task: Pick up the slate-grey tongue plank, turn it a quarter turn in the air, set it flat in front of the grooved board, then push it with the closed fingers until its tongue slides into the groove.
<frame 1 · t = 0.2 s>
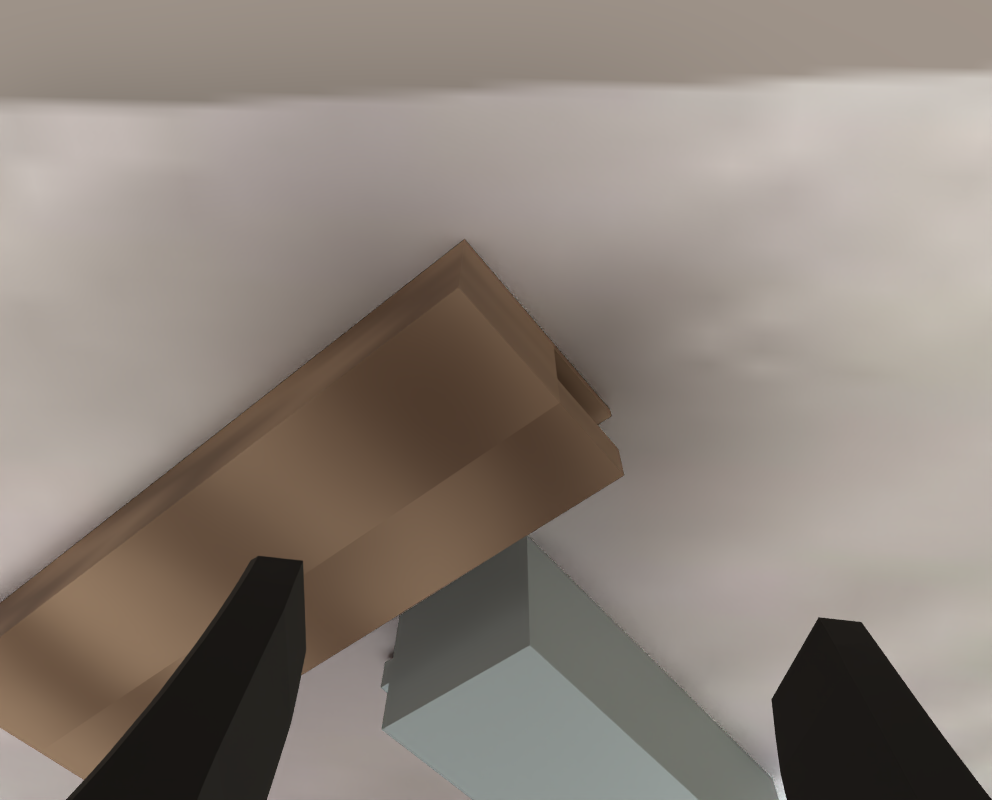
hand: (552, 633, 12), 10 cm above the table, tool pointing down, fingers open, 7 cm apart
tongue plank: (597, 696, 28), on the table
grooved board: (277, 517, 24), on the table
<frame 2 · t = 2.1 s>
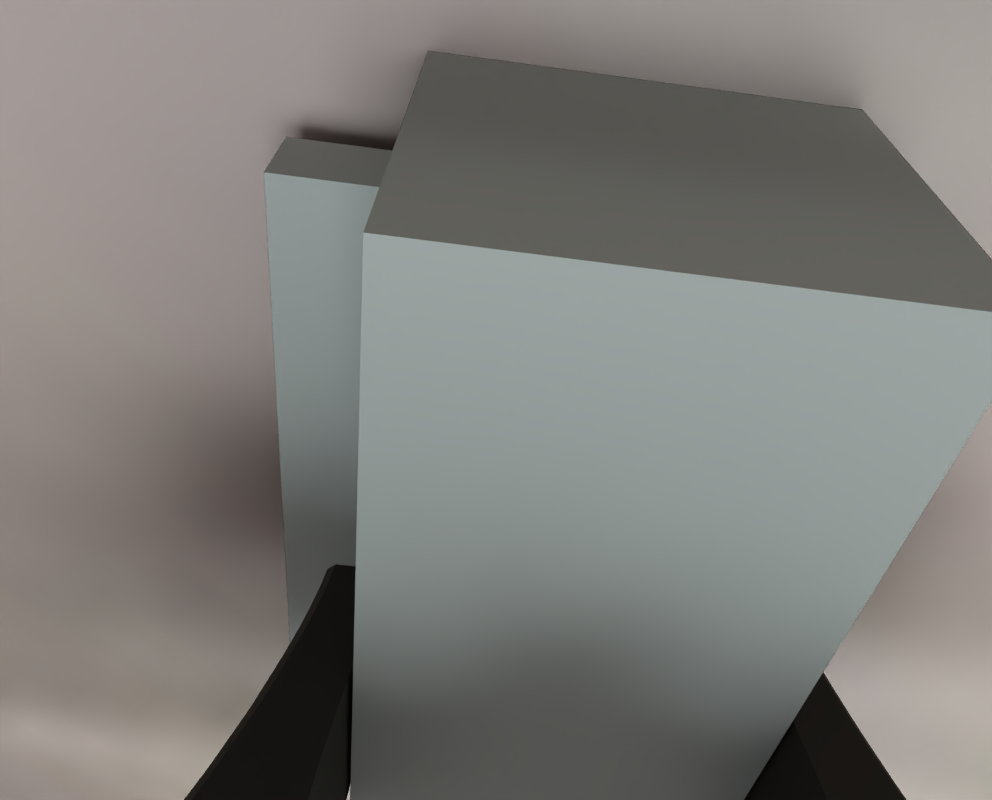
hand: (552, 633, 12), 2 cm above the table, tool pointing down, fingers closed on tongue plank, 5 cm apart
tongue plank: (550, 506, 14), on the table, touching gripper
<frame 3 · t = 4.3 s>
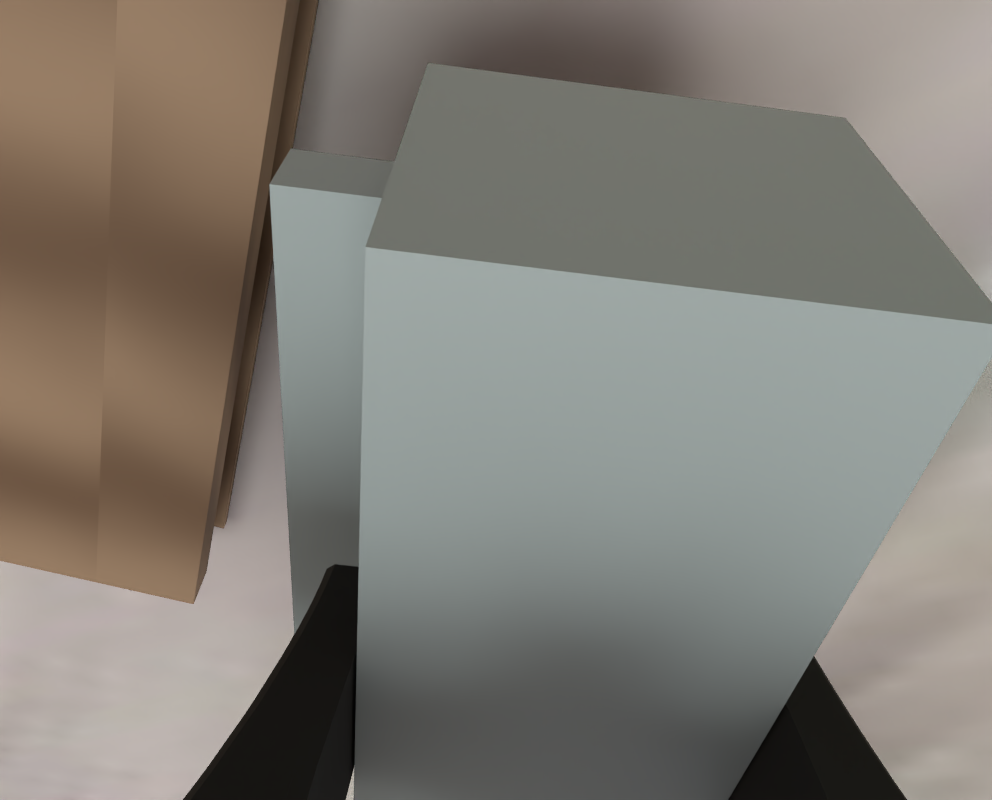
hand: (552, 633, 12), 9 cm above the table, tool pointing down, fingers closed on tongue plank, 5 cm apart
tongue plank: (547, 504, 14), point 7 cm above the table, touching gripper
grooved board: (139, 203, 18), on the table
when the fingers open (3 cm above the table, at t = 6.1 s): tongue plank stays where it is, on the table.
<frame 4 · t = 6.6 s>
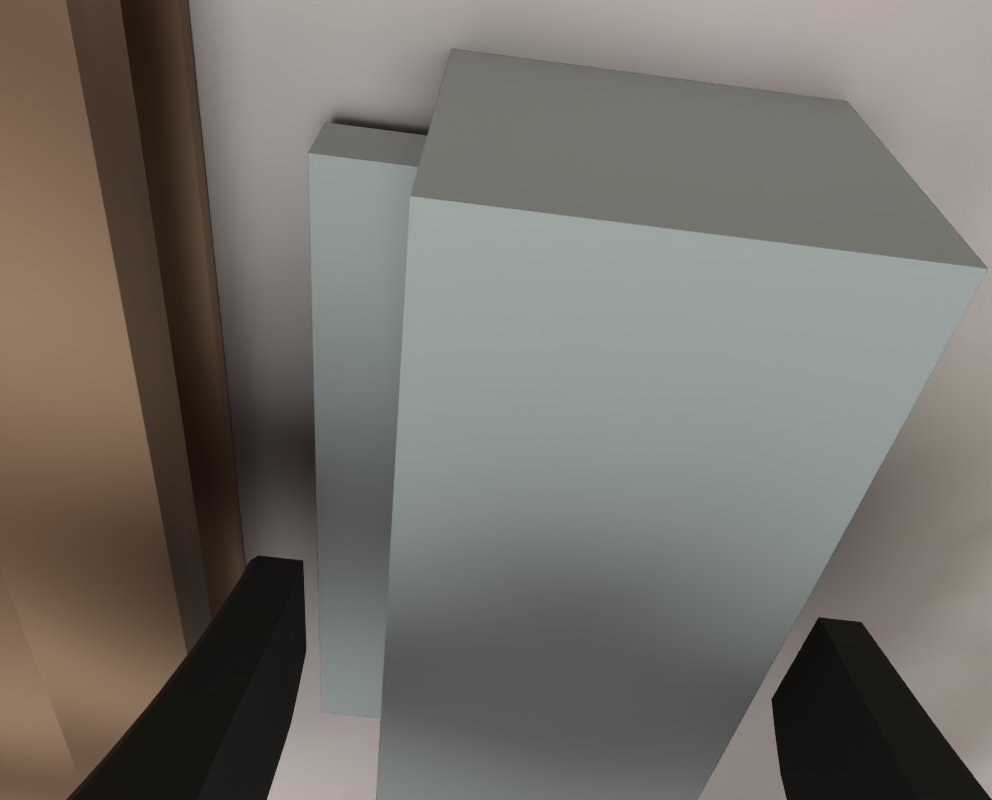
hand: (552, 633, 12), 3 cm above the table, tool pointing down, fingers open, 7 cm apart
tongue plank: (559, 468, 15), on the table
grooved board: (59, 433, 15), on the table
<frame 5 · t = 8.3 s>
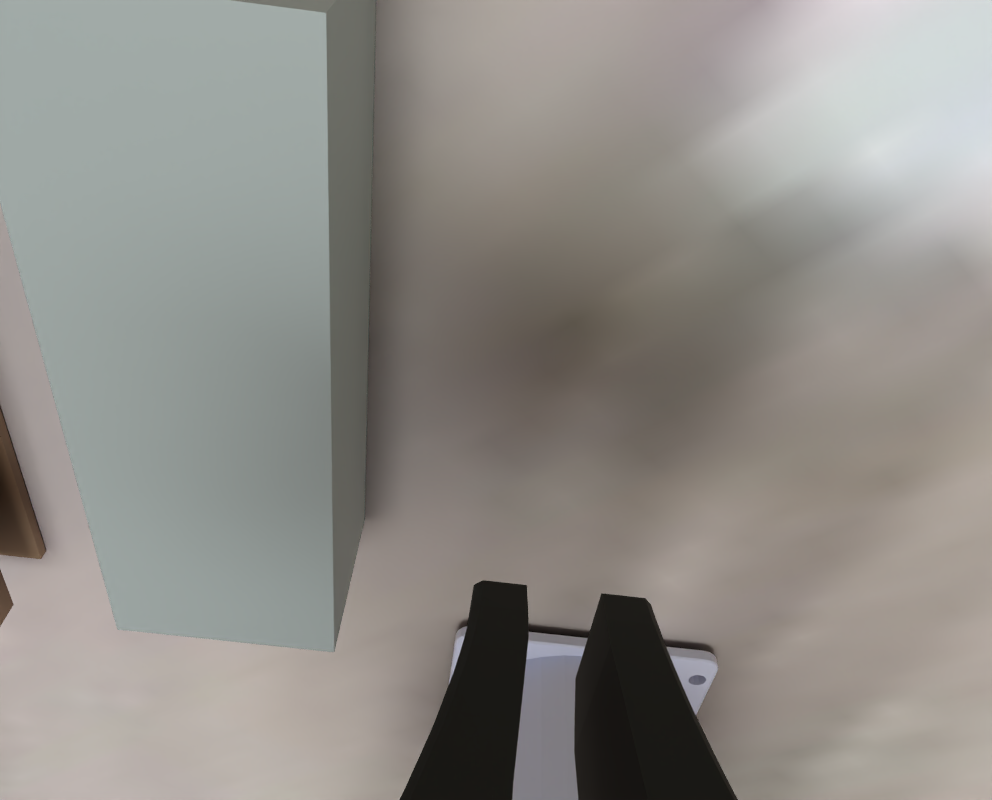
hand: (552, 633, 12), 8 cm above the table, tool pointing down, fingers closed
tongue plank: (259, 280, 19), on the table
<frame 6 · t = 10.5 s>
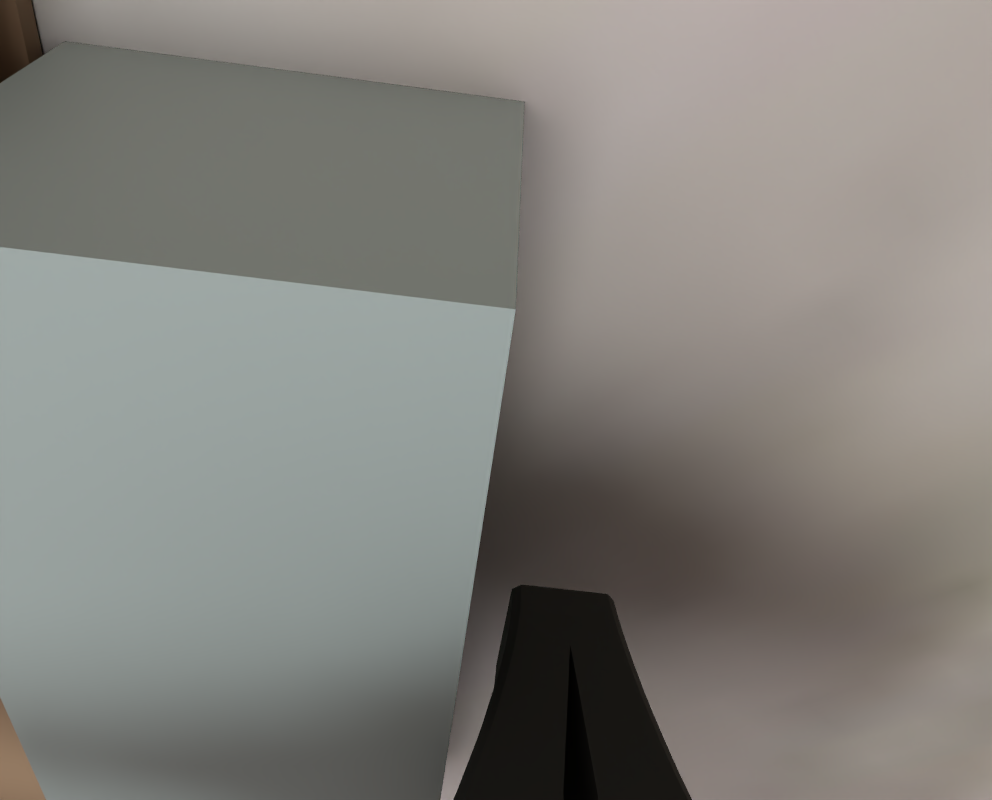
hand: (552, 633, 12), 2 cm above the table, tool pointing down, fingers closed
tongue plank: (313, 505, 14), on the table, touching gripper
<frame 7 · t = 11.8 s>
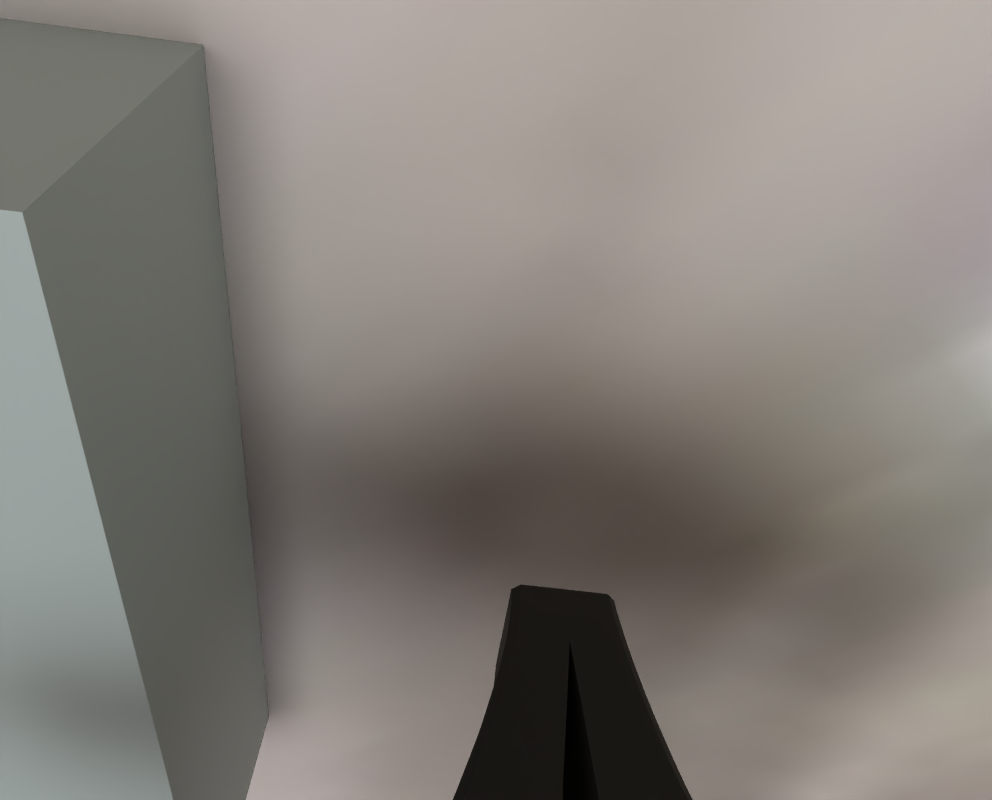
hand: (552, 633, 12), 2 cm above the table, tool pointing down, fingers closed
tongue plank: (99, 457, 14), on the table, touching grooved board
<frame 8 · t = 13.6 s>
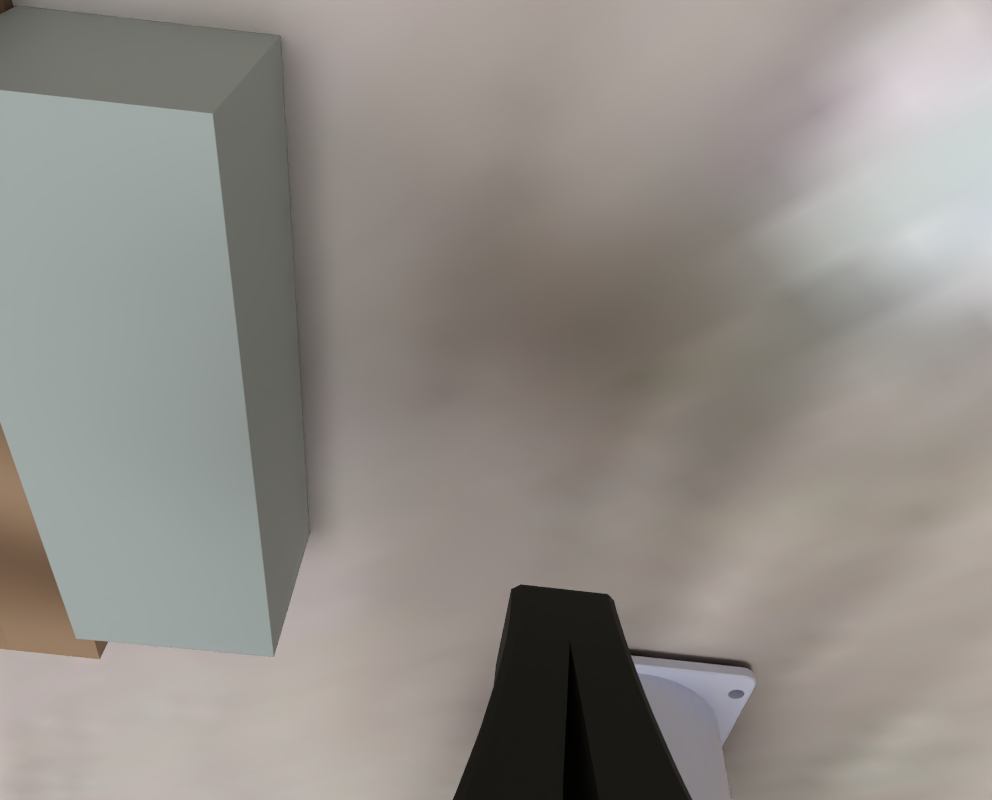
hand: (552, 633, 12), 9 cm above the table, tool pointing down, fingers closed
tongue plank: (198, 320, 21), on the table, touching grooved board
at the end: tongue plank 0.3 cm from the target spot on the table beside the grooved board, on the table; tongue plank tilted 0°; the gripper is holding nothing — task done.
